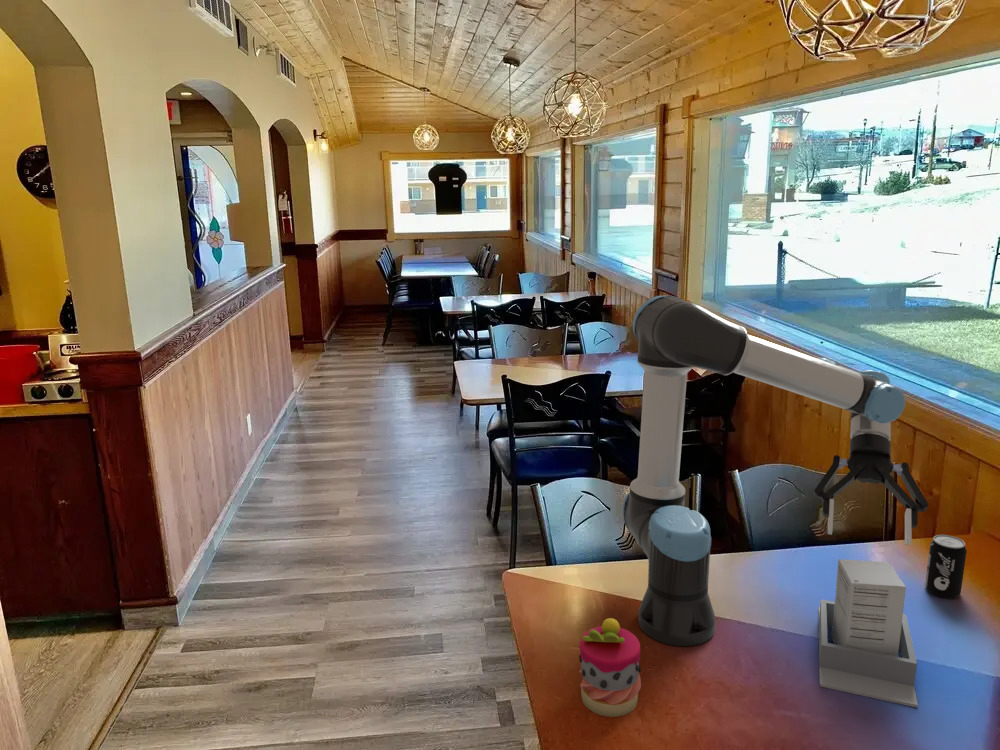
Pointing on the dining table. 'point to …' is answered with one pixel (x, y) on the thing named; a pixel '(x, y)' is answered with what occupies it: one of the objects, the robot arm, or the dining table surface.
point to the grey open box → (867, 665)
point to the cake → (610, 669)
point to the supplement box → (868, 606)
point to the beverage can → (945, 566)
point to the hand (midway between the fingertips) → (868, 537)
